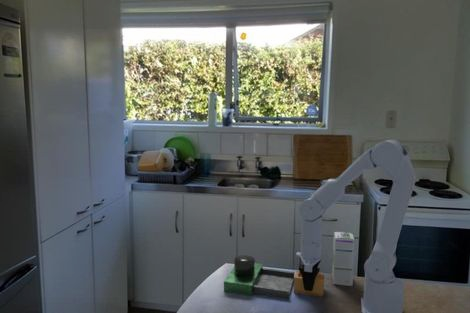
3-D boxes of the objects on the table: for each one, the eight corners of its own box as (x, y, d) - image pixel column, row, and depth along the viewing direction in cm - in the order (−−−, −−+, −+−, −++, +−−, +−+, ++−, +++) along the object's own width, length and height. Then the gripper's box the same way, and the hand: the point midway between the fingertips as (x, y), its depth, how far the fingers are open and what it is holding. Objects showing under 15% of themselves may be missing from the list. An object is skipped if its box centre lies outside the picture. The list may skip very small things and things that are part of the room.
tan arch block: (323, 288, 110) (324, 273, 109) (322, 296, 105) (323, 281, 105) (295, 284, 112) (296, 270, 112) (293, 292, 107) (294, 277, 107)
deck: (294, 277, 117) (295, 255, 116) (287, 301, 102) (288, 276, 102) (237, 269, 122) (238, 248, 121) (223, 291, 107) (224, 267, 106)
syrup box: (352, 286, 112) (355, 238, 110) (332, 284, 113) (334, 237, 111) (351, 278, 117) (353, 232, 115) (331, 276, 118) (333, 231, 116)
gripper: (299, 230, 115) (298, 273, 117) (293, 247, 101) (291, 295, 103) (323, 232, 113) (321, 276, 115) (320, 250, 99) (318, 299, 101)
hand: (309, 285), depth 109 cm, fingers closed on tan arch block, 5 cm apart
